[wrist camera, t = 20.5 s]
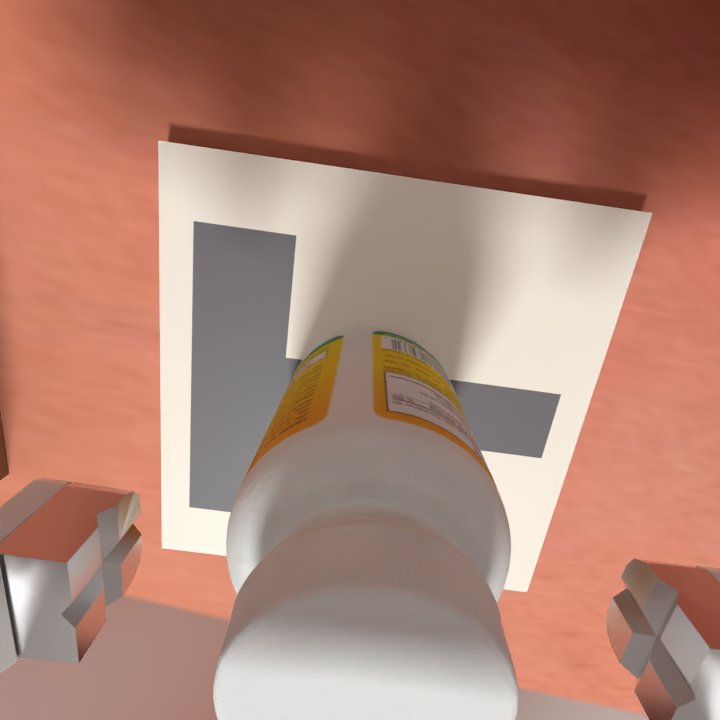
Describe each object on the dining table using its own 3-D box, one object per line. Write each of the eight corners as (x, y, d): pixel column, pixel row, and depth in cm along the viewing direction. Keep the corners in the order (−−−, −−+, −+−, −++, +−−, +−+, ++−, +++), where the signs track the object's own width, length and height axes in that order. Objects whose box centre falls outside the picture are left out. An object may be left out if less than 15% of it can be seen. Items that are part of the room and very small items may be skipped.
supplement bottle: (446, 315, 14) (595, 524, 5) (453, 465, 16) (574, 829, 6) (273, 333, 14) (104, 562, 5) (300, 479, 16) (209, 846, 7)
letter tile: (640, 212, 13) (652, 212, 13) (521, 579, 18) (526, 591, 17) (167, 143, 13) (158, 140, 12) (168, 536, 17) (162, 548, 17)
